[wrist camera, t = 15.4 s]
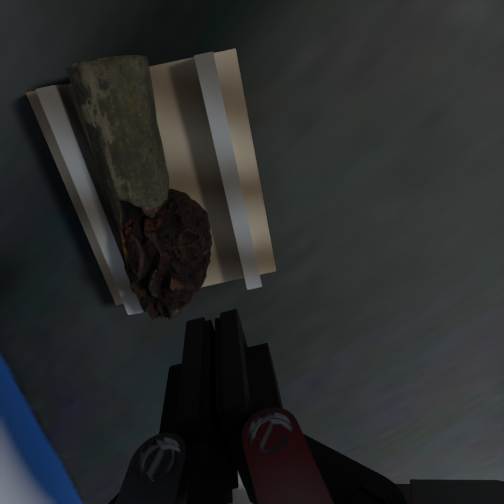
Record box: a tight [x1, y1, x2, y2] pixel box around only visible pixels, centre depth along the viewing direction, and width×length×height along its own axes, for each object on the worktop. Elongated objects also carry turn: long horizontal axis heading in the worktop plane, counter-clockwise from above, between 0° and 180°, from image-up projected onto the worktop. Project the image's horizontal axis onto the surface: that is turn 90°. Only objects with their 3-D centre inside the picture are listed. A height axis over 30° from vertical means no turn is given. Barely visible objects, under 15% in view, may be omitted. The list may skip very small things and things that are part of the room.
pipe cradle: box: [26, 49, 276, 315], centre depth 28 cm, size 17×14×3 cm
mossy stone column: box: [66, 55, 212, 319], centre depth 25 cm, size 18×7×6 cm, turn 7°
